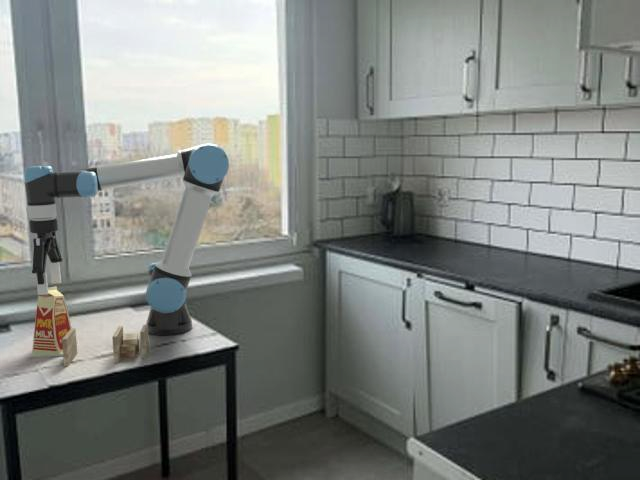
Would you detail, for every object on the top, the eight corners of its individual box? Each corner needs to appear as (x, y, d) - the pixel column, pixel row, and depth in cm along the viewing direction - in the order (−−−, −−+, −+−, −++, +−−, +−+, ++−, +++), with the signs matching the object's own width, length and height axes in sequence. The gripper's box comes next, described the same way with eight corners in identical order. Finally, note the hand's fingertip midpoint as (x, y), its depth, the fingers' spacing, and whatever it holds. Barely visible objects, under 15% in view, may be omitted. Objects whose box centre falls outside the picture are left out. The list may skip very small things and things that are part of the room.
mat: (77, 343, 189) (77, 341, 189) (68, 355, 179) (68, 353, 179) (40, 345, 188) (40, 343, 188) (29, 357, 177) (29, 355, 177)
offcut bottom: (139, 351, 183) (139, 345, 183) (135, 358, 177) (134, 352, 177) (126, 352, 183) (125, 345, 182) (121, 359, 177) (120, 352, 177)
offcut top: (137, 339, 183) (137, 332, 182) (137, 345, 177) (137, 338, 177) (124, 340, 182) (123, 333, 181) (123, 346, 176) (122, 340, 176)
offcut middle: (138, 345, 183) (138, 339, 182) (134, 352, 177) (134, 346, 176) (125, 346, 182) (125, 339, 182) (121, 353, 176) (120, 346, 176)
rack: (148, 349, 184) (147, 324, 182) (144, 361, 174) (142, 335, 172) (73, 353, 180) (71, 328, 179) (64, 366, 171) (62, 339, 169)
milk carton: (59, 354, 178) (54, 289, 175) (31, 352, 180) (25, 288, 176) (76, 343, 187) (71, 281, 184) (49, 342, 188) (44, 280, 185)
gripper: (42, 213, 188) (49, 279, 192) (14, 225, 164) (23, 300, 167) (67, 212, 189) (73, 278, 193) (43, 224, 165) (51, 298, 168)
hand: (50, 288), depth 180 cm, fingers open, 13 cm apart
